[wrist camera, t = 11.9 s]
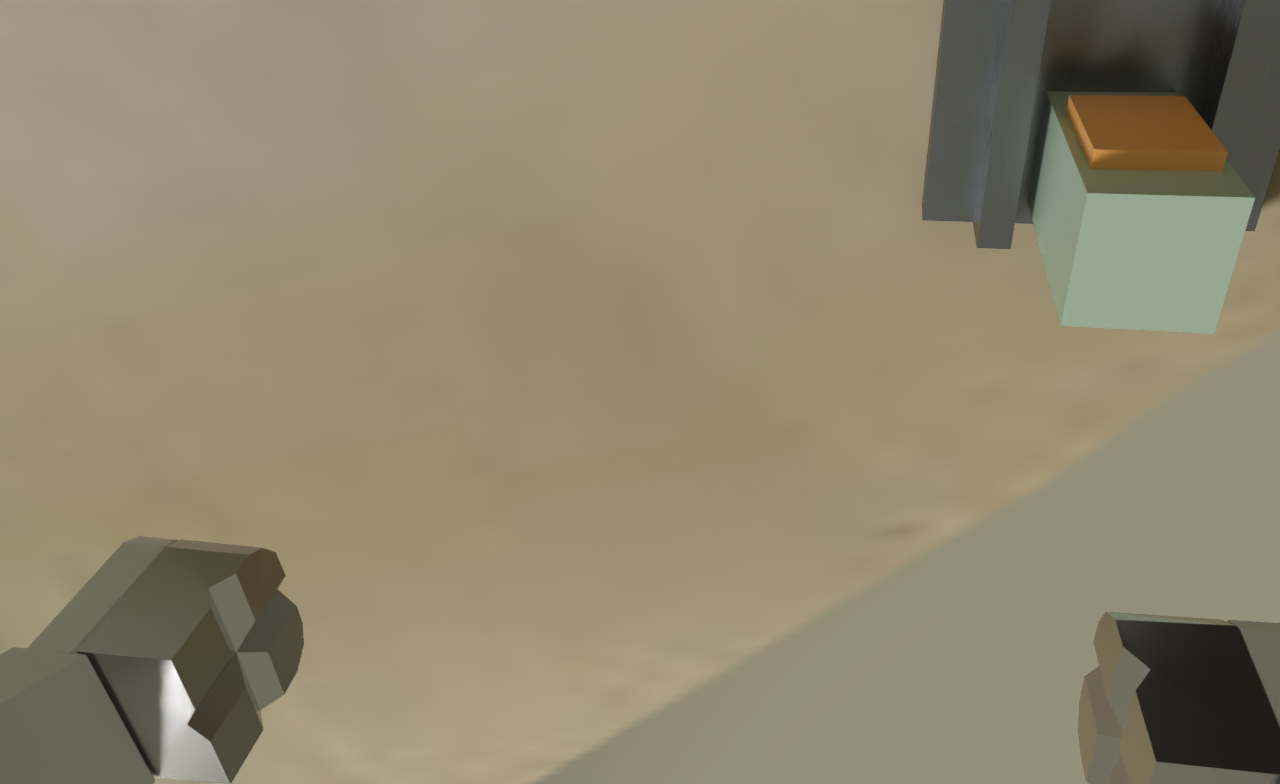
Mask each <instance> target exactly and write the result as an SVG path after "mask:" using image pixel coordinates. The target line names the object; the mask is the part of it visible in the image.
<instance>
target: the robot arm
mask: <svg viewBox="0 0 1280 784" xmlns="http://www.w3.org/2000/svg"><path fill="white" fill-rule="evenodd" d="M285 576H286V575H285V573H284V571H283V568H282V566H281V564H280V561H279V559H278V557H277V554H276V552H273V551H270V550H267V549H264V548H259V547H249V546H239V545H230V544H220V543H210V542H201V541H191V540H172V539H163V538H153V537H144V536H138V537H136V538H134V539H131V540H129V541H127V542H124V543H123V544H122V545H121V546H120V547H119V548H118V549H117V550H116V551H115V553H114V554H113V555H112V556H111V557H110V558H109V559H108V560H107V561H106V562H105V564H104V565H103V566H102V567H101V568H100V569H99V570H98V571H97V572H96V573H95V574H94V576H93V577H92V578H91V579H90V580H89V581H88V582H87V583H86V584H85V585H84V587H83V588H82V589H81V590H80V591H79V592H78V593H77V594H76V595H75V596H74V598H73V599H72V600H71V601H70V602H69V603H68V604H67V605H66V606H65V607H64V609H63V610H62V611H61V612H60V613H59V614H58V615H57V616H56V617H55V618H54V619H53V621H52V622H51V623H50V624H49V625H48V626H47V627H46V628H45V629H44V630H43V632H42V633H41V634H40V635H39V636H38V637H37V638H36V639H35V640H34V641H33V643H32V644H31V645H30V646H29V647H28V648H16V647H14V648H12V649H10V650H8V651H6V652H4V653H2V654H0V784H153V783H154V781H155V779H154V777H160V778H170V779H181V780H191V781H202V782H212V783H222V784H231V783H232V781H233V779H234V778H235V776H236V774H237V773H238V771H239V769H240V768H241V766H242V764H243V763H244V761H245V759H246V758H247V756H248V754H249V753H250V751H251V749H252V748H253V746H254V744H255V743H256V741H257V739H258V738H259V736H260V734H261V733H262V731H263V723H262V717H261V711H260V710H262V709H263V708H265V707H266V706H268V705H269V704H270V703H272V702H273V701H275V700H276V699H278V698H279V697H281V696H282V695H284V694H285V692H286V690H287V689H288V687H289V685H290V683H291V682H292V680H293V678H294V676H295V674H296V673H297V670H298V666H299V662H300V658H301V654H302V650H303V646H304V638H303V623H302V620H301V617H300V614H299V611H298V609H297V606H296V605H295V604H294V603H292V602H291V601H290V600H289V599H288V598H287V597H286V596H285V595H283V594H282V593H281V592H280V591H279V590H278V588H279V587H280V585H281V583H282V581H283V579H284V577H285ZM1094 646H1095V650H1096V655H1097V658H1098V663H1099V667H1097V668H1096V669H1094V670H1093V671H1091V672H1090V673H1088V674H1087V675H1086V676H1085V677H1084V682H1083V687H1082V691H1081V696H1080V701H1079V724H1078V734H1079V744H1080V753H1081V759H1082V764H1083V769H1084V774H1085V779H1086V781H1087V782H1088V783H1089V784H1280V623H1267V622H1251V621H1237V620H1229V621H1227V622H1226V621H1224V620H1219V619H1204V618H1189V617H1175V616H1160V615H1145V614H1130V613H1116V612H1105V614H1104V615H1103V617H1102V618H1101V620H1100V621H1099V623H1098V627H1097V631H1096V634H1095V638H1094Z"/></svg>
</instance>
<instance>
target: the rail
mask: <svg viewBox="0 0 1280 784" xmlns="http://www.w3.org/2000/svg"><path fill="white" fill-rule="evenodd" d="M1046 91H1052V92H1176V93H1177V94H1178V96H1185V97H1186V98H1187V99H1188V101H1189V102H1190V103H1191V105H1192V106H1193V107H1194V108H1195V110H1196V111H1197V112H1198V114H1199V115H1200V116H1201V118H1202V119H1203V120H1204V121H1205V123H1206V124H1207V125H1208V127H1209V128H1210V129H1211V131H1212V132H1213V133H1214V134H1215V136H1216V137H1217V138H1218V140H1219V141H1220V142H1221V144H1222V145H1223V146H1224V147H1225V149H1226V150H1227V151H1228V153H1227V157H1226V159H1227V161H1228V162H1229V163H1230V165H1231V166H1232V167H1233V169H1234V170H1235V171H1236V173H1237V174H1238V175H1239V177H1240V178H1241V179H1242V181H1243V182H1244V183H1245V185H1246V186H1247V187H1248V189H1249V190H1250V191H1251V193H1252V194H1253V195H1254V197H1255V200H1254V203H1253V207H1252V210H1251V213H1250V217H1249V220H1248V223H1247V227H1246V230H1245V231H1255V228H1256V225H1257V221H1258V218H1259V215H1260V212H1261V208H1262V205H1263V202H1264V199H1265V195H1266V192H1267V189H1268V186H1269V182H1270V179H1271V176H1272V173H1273V169H1274V166H1275V163H1276V160H1277V156H1278V153H1279V150H1280V0H944V3H943V13H942V22H941V32H940V41H939V50H938V60H937V69H936V79H935V88H934V97H933V107H932V116H931V125H930V135H929V144H928V154H927V163H926V172H925V182H924V191H923V201H922V217H923V220H935V221H965V222H973V226H974V232H975V239H976V246H977V248H995V249H1011V243H1012V237H1013V231H1014V224H1015V223H1025V224H1033V221H1032V218H1031V214H1030V210H1029V207H1028V198H1029V192H1030V186H1031V180H1032V174H1033V168H1034V163H1035V157H1036V151H1037V145H1038V139H1039V133H1040V127H1041V121H1042V115H1043V109H1044V103H1045V97H1046Z"/></svg>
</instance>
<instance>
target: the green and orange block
mask: <svg viewBox="0 0 1280 784" xmlns="http://www.w3.org/2000/svg"><path fill="white" fill-rule="evenodd" d="M1227 153H1228V151H1227V150H1226V149H1225V147H1224V146H1223V145H1222V144H1221V142H1220V141H1219V140H1218V138H1217V137H1216V136H1215V134H1214V133H1213V132H1212V131H1211V129H1210V128H1209V127H1208V125H1207V124H1206V123H1205V121H1204V120H1203V119H1202V118H1201V116H1200V115H1199V114H1198V112H1197V111H1196V110H1195V108H1194V107H1193V106H1192V105H1191V103H1190V102H1189V101H1188V99H1187V98H1186V97H1185V96H1178V94H1177V93H1176V92H1052V91H1046V97H1045V103H1044V109H1043V115H1042V121H1041V127H1040V133H1039V139H1038V145H1037V151H1036V157H1035V163H1034V168H1033V174H1032V180H1031V186H1030V192H1029V198H1028V207H1029V210H1030V214H1031V218H1032V221H1033V225H1034V229H1035V232H1036V236H1037V240H1038V244H1039V247H1040V251H1041V255H1042V258H1043V262H1044V266H1045V270H1046V273H1047V277H1048V281H1049V284H1050V288H1051V292H1052V295H1053V299H1054V303H1055V307H1056V310H1057V314H1058V318H1059V321H1060V325H1061V326H1078V327H1097V328H1116V329H1135V330H1154V331H1173V332H1192V333H1210V334H1214V333H1215V329H1216V326H1217V323H1218V319H1219V316H1220V313H1221V310H1222V306H1223V303H1224V300H1225V296H1226V293H1227V290H1228V286H1229V283H1230V280H1231V276H1232V273H1233V270H1234V266H1235V263H1236V260H1237V256H1238V253H1239V250H1240V247H1241V243H1242V240H1243V237H1244V233H1245V230H1246V227H1247V223H1248V220H1249V217H1250V213H1251V210H1252V207H1253V203H1254V200H1255V197H1254V195H1253V194H1252V193H1251V191H1250V190H1249V189H1248V187H1247V186H1246V185H1245V183H1244V182H1243V181H1242V179H1241V178H1240V177H1239V175H1238V174H1237V173H1236V171H1235V170H1234V169H1233V167H1232V166H1231V165H1230V163H1229V162H1228V161H1227V159H1226V157H1227Z"/></svg>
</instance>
